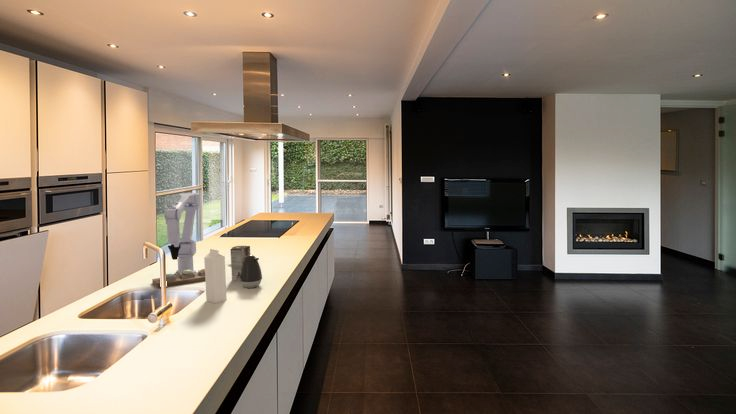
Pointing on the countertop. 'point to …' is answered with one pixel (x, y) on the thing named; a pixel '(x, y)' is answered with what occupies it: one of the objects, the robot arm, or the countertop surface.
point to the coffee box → (238, 260)
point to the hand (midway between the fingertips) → (174, 259)
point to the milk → (215, 277)
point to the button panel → (181, 279)
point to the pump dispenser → (250, 272)
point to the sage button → (187, 272)
